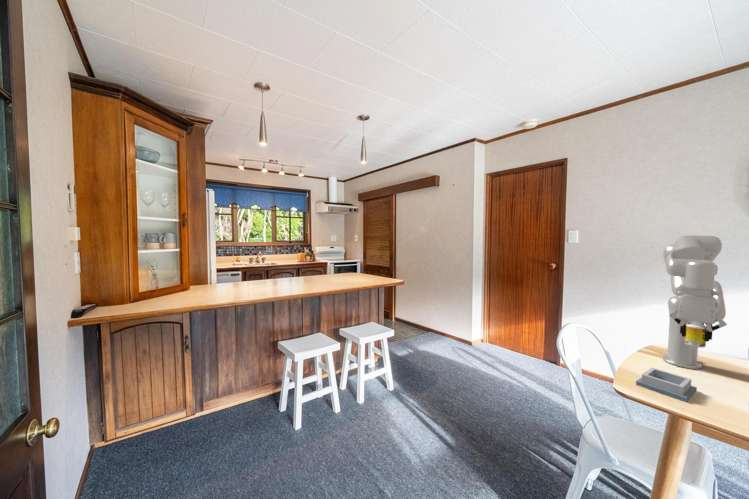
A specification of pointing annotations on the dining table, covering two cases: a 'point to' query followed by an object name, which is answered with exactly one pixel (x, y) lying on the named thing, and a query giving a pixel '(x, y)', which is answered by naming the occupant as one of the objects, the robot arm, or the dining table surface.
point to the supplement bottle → (695, 334)
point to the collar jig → (667, 384)
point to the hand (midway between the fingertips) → (695, 337)
